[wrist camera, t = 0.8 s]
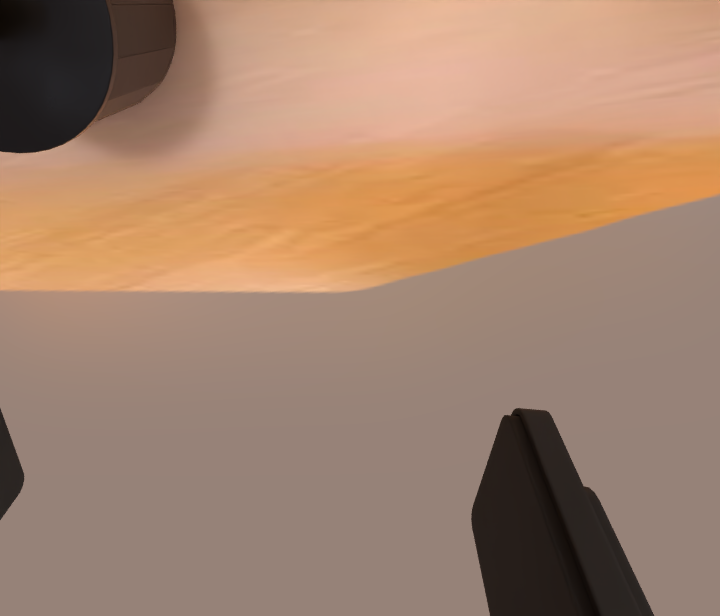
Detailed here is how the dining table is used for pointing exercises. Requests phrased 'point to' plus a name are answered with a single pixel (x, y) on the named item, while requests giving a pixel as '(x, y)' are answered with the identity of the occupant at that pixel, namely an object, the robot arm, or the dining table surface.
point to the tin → (140, 50)
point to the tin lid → (53, 70)
